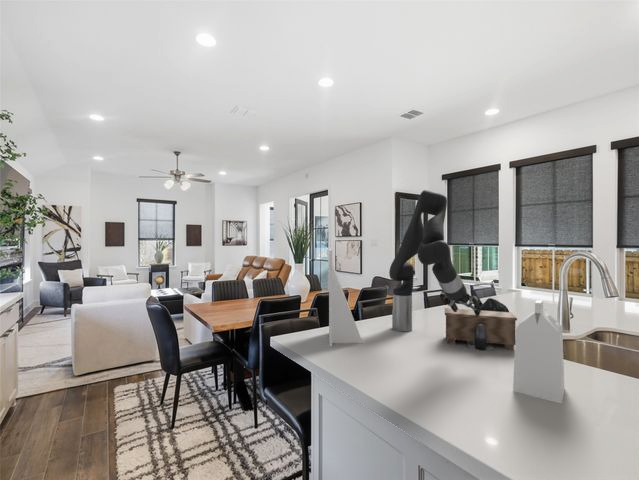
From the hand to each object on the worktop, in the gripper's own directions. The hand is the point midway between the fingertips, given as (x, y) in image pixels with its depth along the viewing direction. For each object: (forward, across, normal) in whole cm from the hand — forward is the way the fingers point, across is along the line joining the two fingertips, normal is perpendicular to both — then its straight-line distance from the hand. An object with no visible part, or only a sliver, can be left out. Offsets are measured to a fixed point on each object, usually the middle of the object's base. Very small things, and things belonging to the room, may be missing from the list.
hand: (467, 312), depth 126 cm
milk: (+4, -27, +21) cm, 35 cm away
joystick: (+22, +2, +1) cm, 23 cm away
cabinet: (+25, +4, -2) cm, 26 cm away
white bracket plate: (-3, +45, +27) cm, 52 cm away
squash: (+51, +13, -28) cm, 60 cm away
